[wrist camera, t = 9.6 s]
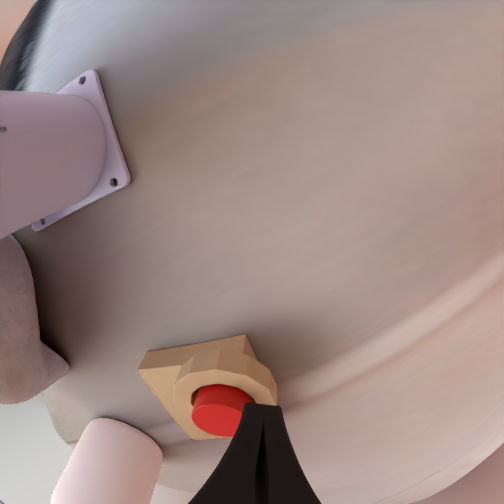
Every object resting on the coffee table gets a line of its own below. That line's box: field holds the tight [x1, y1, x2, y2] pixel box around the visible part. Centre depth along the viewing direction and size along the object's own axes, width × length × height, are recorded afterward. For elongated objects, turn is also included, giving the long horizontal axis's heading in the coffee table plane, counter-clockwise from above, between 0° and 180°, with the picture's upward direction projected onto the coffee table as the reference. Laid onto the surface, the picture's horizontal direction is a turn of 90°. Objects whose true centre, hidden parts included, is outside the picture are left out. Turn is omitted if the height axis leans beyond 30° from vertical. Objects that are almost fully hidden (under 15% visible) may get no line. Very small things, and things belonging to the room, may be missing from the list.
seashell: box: [0, 234, 70, 404], centre depth 17 cm, size 15×14×15 cm
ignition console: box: [138, 334, 278, 440], centre depth 19 cm, size 9×10×4 cm
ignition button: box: [191, 384, 252, 437], centre depth 16 cm, size 4×4×2 cm
